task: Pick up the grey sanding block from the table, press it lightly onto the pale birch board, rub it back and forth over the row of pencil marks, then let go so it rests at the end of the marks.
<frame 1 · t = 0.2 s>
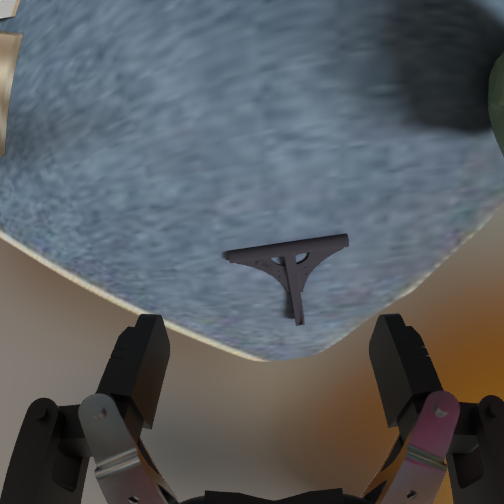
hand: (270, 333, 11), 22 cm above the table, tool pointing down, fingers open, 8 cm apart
bracket: (293, 280, 42), on the table
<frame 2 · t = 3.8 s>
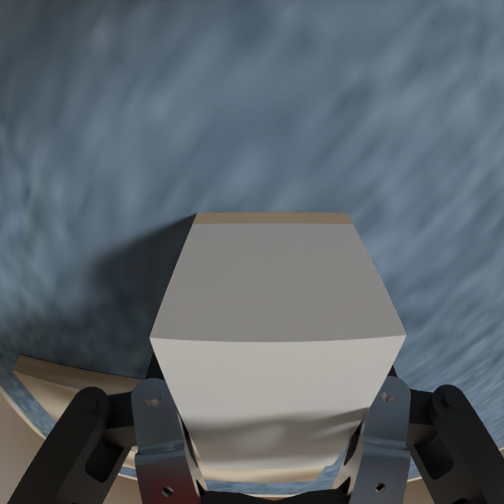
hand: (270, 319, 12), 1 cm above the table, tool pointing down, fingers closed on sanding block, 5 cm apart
sanding block: (270, 304, 12), on the table, touching gripper
birch board: (185, 436, 20), on the table
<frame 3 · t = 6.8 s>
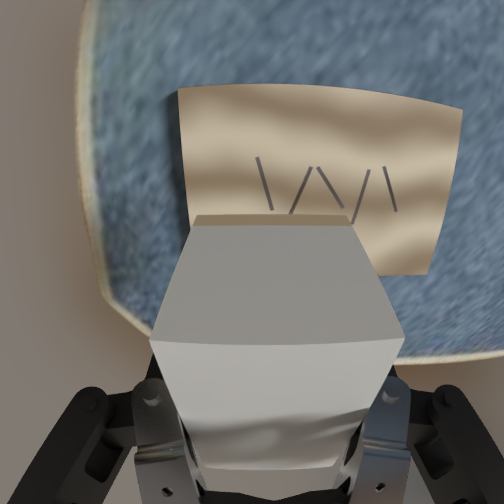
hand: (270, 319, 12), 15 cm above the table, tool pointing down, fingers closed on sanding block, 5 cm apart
sanding block: (270, 305, 12), point 14 cm above the table, touching gripper
birch board: (326, 185, 24), on the table
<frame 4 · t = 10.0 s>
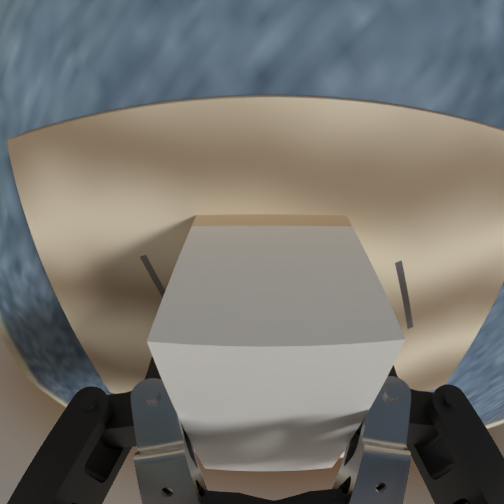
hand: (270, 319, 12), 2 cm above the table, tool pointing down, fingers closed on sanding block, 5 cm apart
sanding block: (270, 306, 12), point 2 cm above the table, touching birch board, gripper
birch board: (288, 286, 14), on the table
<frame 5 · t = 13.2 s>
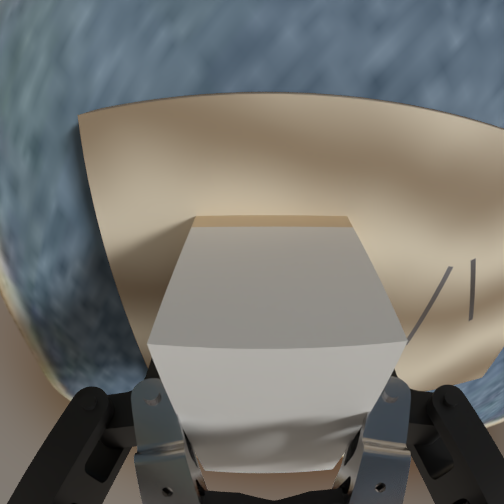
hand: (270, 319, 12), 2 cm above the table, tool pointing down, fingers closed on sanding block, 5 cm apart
sanding block: (270, 307, 12), point 2 cm above the table, touching gripper
birch board: (372, 284, 13), on the table
when the fingers open (3 cm above the table, at t = 16.0 s): sanding block stays where it is, resting on birch board.
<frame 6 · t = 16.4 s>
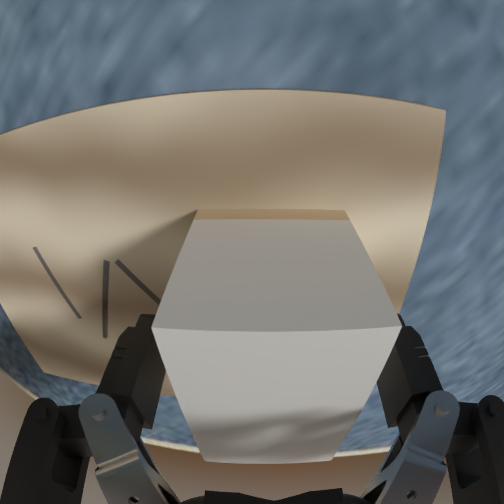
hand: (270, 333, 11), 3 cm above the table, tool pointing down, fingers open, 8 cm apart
sanding block: (269, 300, 12), point 1 cm above the table, touching birch board
birch board: (160, 277, 14), on the table
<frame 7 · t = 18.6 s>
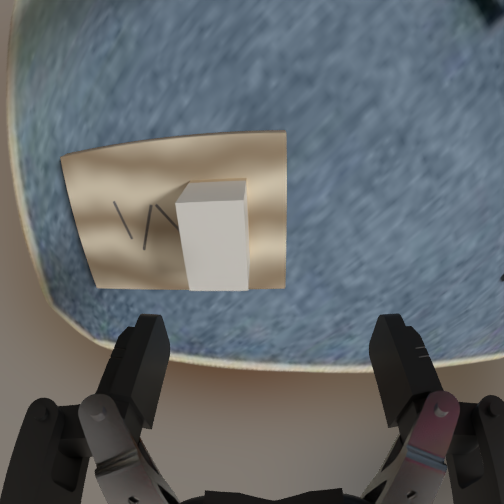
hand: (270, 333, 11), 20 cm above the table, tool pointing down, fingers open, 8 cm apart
sanding block: (221, 219, 29), point 1 cm above the table, touching birch board
birch board: (173, 216, 30), on the table
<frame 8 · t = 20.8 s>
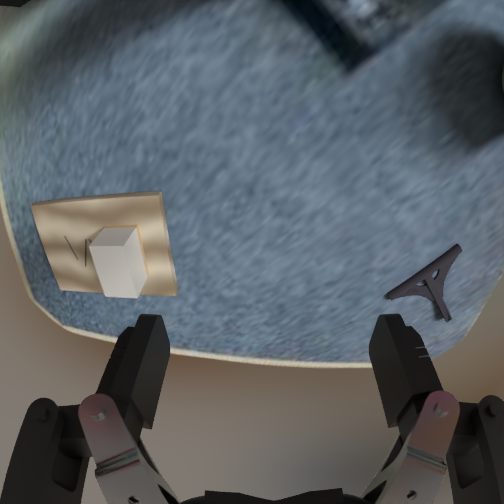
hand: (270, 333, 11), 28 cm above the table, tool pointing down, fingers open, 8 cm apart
bracket: (434, 291, 47), on the table
sanding block: (127, 250, 41), point 1 cm above the table, touching birch board
birch board: (102, 245, 42), on the table
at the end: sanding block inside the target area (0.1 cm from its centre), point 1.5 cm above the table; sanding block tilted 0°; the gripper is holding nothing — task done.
